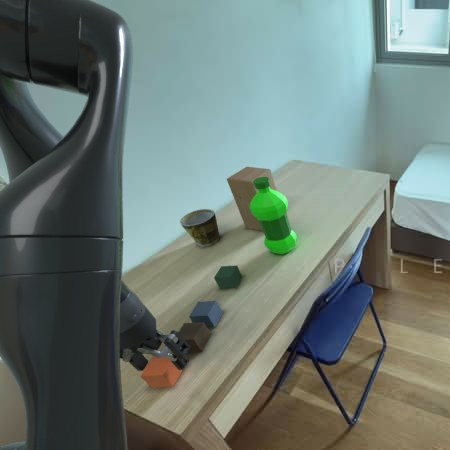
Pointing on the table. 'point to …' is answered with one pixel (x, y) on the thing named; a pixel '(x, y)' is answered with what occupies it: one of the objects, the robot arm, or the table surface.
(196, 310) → the block
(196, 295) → the table surface
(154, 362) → the block
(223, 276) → the block
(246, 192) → the wooden block
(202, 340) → the block
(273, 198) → the plastic bottle
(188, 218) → the ceramic cup
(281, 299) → the table surface
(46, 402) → the robot arm
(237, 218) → the table surface
